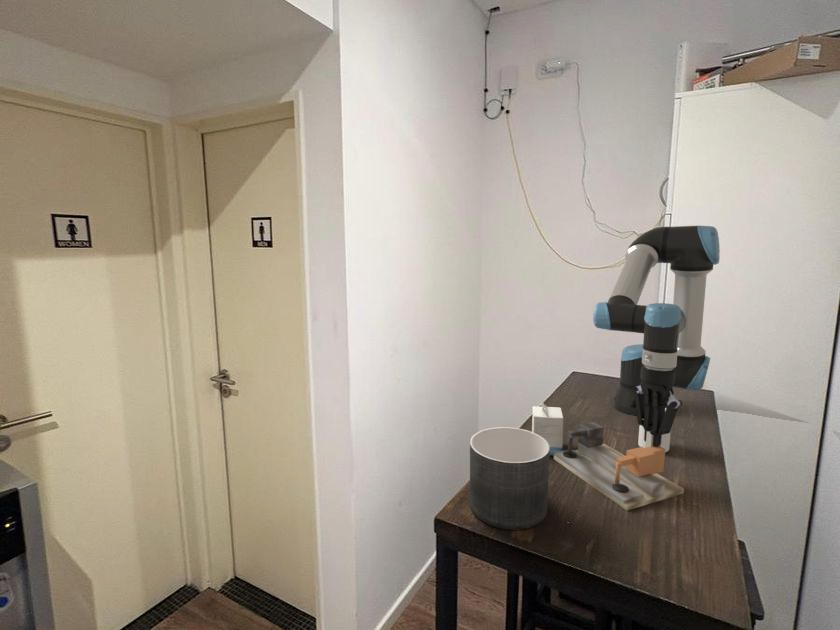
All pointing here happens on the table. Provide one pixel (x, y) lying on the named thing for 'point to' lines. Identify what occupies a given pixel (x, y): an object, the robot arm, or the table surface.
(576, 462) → the board
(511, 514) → the planter
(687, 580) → the table surface
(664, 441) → the beverage can
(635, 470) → the block
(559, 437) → the ink box
